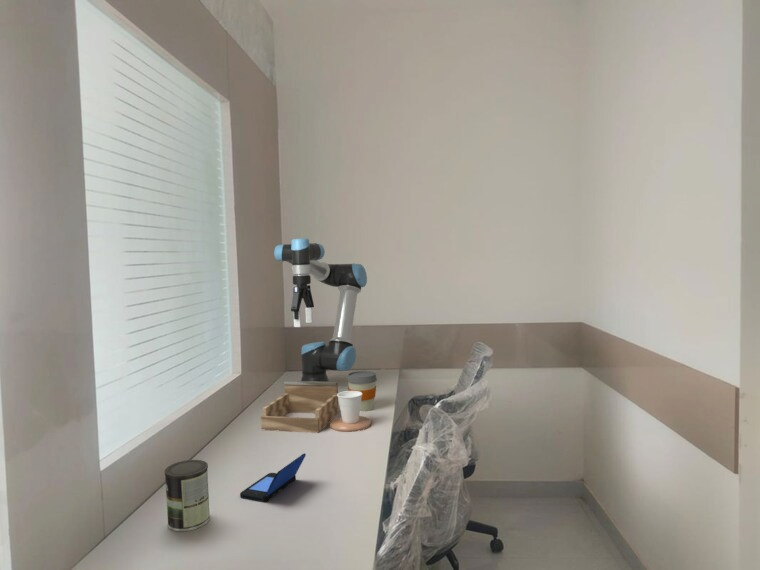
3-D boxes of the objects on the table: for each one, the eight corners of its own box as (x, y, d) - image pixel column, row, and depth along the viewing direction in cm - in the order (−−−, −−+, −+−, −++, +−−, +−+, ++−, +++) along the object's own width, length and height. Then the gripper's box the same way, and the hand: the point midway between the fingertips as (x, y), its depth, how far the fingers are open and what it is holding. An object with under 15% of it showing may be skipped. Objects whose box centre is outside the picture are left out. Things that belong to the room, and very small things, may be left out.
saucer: (337, 417, 221) (337, 414, 221) (375, 419, 217) (375, 416, 217) (324, 430, 205) (324, 427, 205) (365, 432, 201) (365, 429, 201)
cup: (364, 417, 215) (364, 390, 215) (361, 425, 206) (360, 397, 205) (340, 417, 216) (339, 390, 216) (335, 425, 207) (334, 397, 206)
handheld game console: (270, 476, 165) (269, 446, 164) (308, 482, 160) (307, 451, 159) (237, 498, 150) (236, 466, 150) (278, 506, 145) (277, 472, 145)
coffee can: (162, 533, 132) (158, 476, 131) (174, 513, 142) (171, 460, 142) (205, 530, 133) (202, 474, 132) (214, 510, 143) (211, 458, 142)
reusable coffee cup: (372, 403, 241) (371, 369, 240) (381, 410, 229) (380, 375, 228) (344, 406, 237) (343, 372, 236) (352, 414, 225) (351, 378, 224)
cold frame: (287, 410, 233) (286, 380, 232) (338, 412, 228) (337, 382, 227) (261, 429, 208) (259, 396, 208) (318, 432, 203) (316, 398, 202)
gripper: (303, 273, 244) (305, 320, 245) (281, 276, 219) (283, 328, 221) (319, 273, 242) (321, 320, 243) (298, 276, 218) (300, 328, 219)
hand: (303, 324), depth 232 cm, fingers open, 13 cm apart
